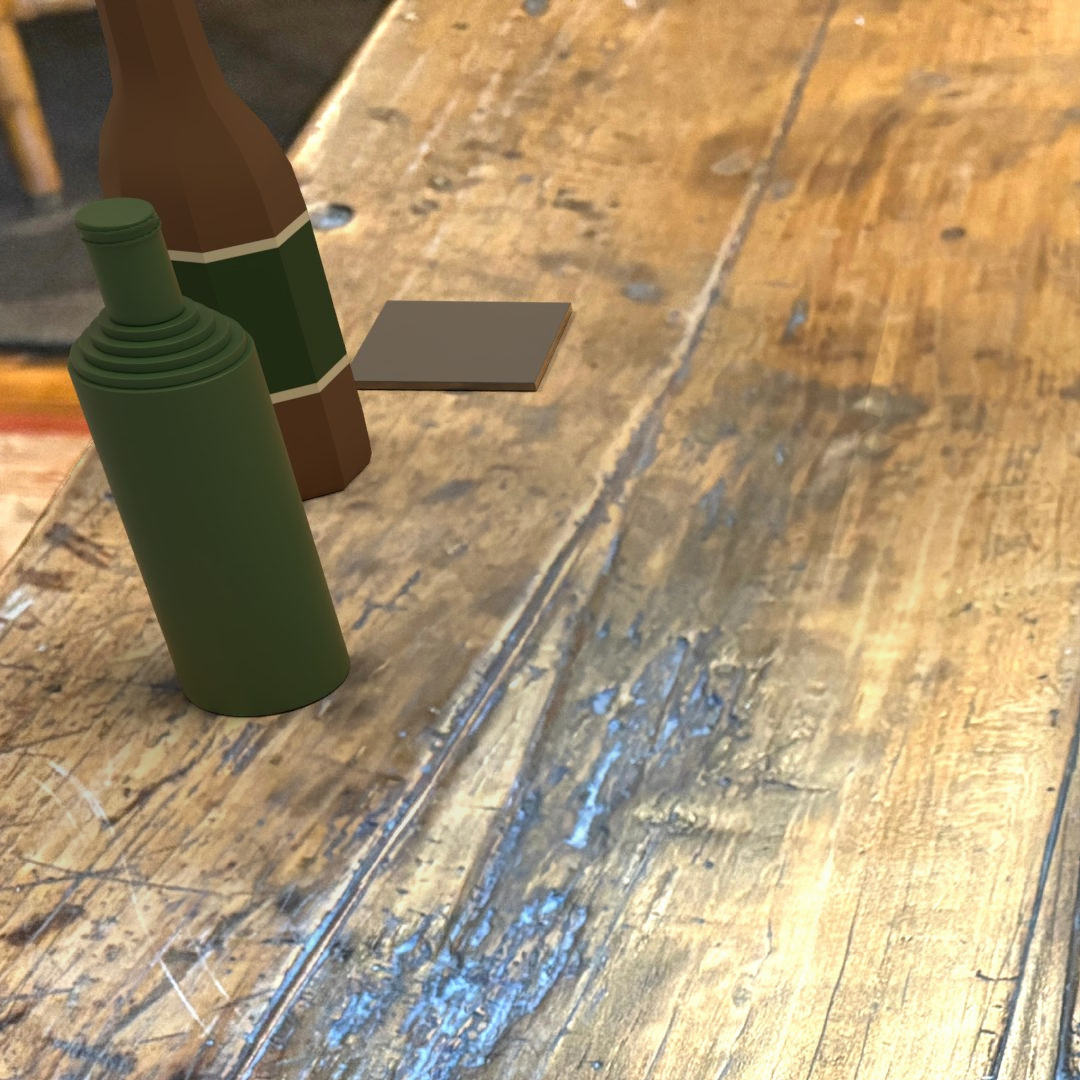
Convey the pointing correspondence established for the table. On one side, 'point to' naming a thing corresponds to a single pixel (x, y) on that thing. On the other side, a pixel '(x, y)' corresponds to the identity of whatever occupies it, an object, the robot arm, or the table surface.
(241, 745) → the table surface
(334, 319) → the beer bottle
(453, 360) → the coaster
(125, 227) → the bottle
